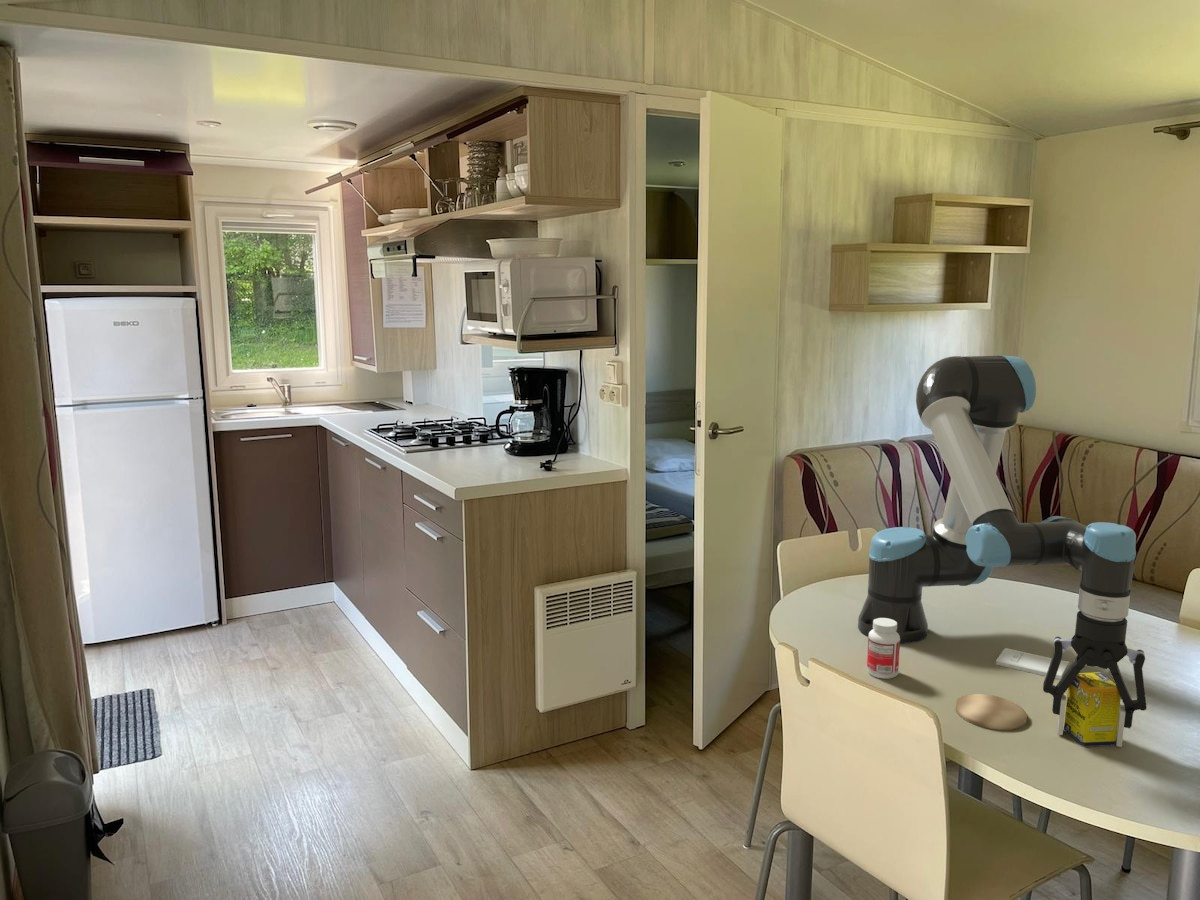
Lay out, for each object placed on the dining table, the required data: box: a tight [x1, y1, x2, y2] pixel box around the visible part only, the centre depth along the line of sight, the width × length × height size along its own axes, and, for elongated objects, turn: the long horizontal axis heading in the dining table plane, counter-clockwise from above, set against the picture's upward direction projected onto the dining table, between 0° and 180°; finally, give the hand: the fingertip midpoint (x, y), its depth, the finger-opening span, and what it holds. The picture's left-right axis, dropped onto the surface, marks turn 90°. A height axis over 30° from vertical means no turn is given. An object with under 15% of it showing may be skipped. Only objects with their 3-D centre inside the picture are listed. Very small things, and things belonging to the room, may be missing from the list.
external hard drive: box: [995, 647, 1070, 681], centre depth 186 cm, size 2×8×12 cm
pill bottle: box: [866, 618, 901, 680], centre depth 181 cm, size 6×6×11 cm
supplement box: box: [1063, 671, 1122, 748], centre depth 155 cm, size 6×6×11 cm
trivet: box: [955, 693, 1028, 731], centre depth 165 cm, size 12×12×1 cm
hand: (1089, 736), depth 156 cm, fingers open, 8 cm apart
